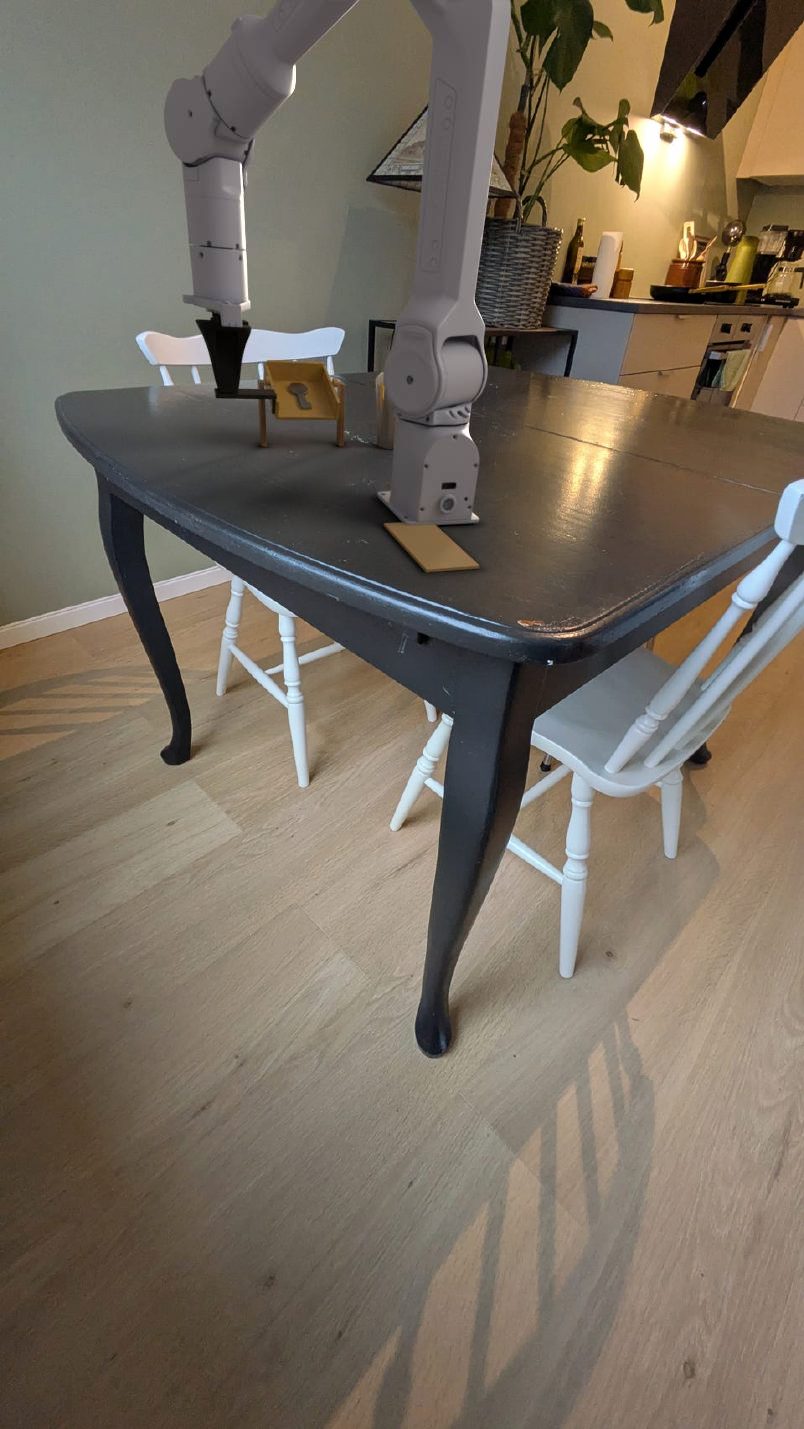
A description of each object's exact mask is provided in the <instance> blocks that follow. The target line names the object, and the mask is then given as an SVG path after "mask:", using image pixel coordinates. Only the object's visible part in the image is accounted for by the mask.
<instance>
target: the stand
mask: <svg viewBox="0 0 804 1429" xmlns="http://www.w3.org/2000/svg"><path fill="white" fill-rule="evenodd" d="M336 388H337V389H336V393H337V395H338V398H339V400H340V410H339V417H338V420H336V435H335V436H336V438H335V439H336V441H335V442H336V443H335V444H336V445H338V447H345V444H344V442H345V410H346V408H345V405H346V404H345V403H346V384H345V383H344V382H343V381H338V387H336ZM257 389H266V388H265V384H264V381H263V379H257ZM257 402H258V422H259V441H260V442H259V443H260V445H261V447H263V448H267V447H268V435H267V434H268V431H267V413H266V412H267V410H266V408H267V407H266V399H257Z"/></svg>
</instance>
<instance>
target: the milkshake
mask: <svg viewBox="0 0 804 1429" xmlns="http://www.w3.org/2000/svg"><path fill="white" fill-rule="evenodd" d="M375 398H376V399H375V400H376V445H377V447H379V448H381V449H387V450H393V448H394V433H395V419H396V417H394V416H393V415H394V408H393V406H392V405H391V403H390V402H389V400H388V398H387V396H386V393H385V389H384V384H383V371H381V372H380V373H379V374H378V375H377V376H376V377H375Z"/></svg>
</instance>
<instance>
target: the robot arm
mask: <svg viewBox="0 0 804 1429" xmlns="http://www.w3.org/2000/svg"><path fill="white" fill-rule="evenodd" d="M359 1H360V0H275V2H274V4H273V5H272V6H271V8H270V10H269V11H268V13H267V14H266V16H265V17H262V16H260V15H258V14H252V13H251V14H246V15H244V16H243V17H241V16H237V17H236V19H235V20H234V21H233V23H232V24H231V25H230V31H231V34H230V35H229V36H228V38H227V39H226V40H225V42H224V43H223V45H222V46H221V47H220V48H219V50H218V52H217V53H216V54H215V56H214V57H213V58H212V60H211V61H210V62H209V63H207V64H206V66H204V68H202V72H201V75H197V74H196V75H194V76H193V77H192V78H191V79H189V78H185V77H178V78H176V79H174V80H173V81H172V83H171V86H170V88H169V90H168V93H167V94H166V98H165V102H164V108H163V123H164V130H165V131H164V132H165V135H166V139H167V142H168V145H169V147H170V148H171V151H172V152H173V154H174V155H175V156H176V158H177V159H178V160H179V161H181V169H182V180H183V192H184V204H185V214H186V224H187V235H188V244H189V246H188V247H189V255H190V256H189V257H190V267H191V279H192V289H193V290H192V291H193V294H182V302H183V303H184V304H189V305H194V306H196V307H199V308H203V309H205V311H206V313H211V317H209V318H210V319H200V318H198V319H195V320H194V321H195V323H196V326H197V328H198V330H199V331H200V333H201V336H202V338H203V341H204V344H205V346H206V350H207V353H208V356H209V360H210V364H211V368H212V372H213V376H214V380H215V384H216V388H218V390H219V392H220V393H238V389H240V382H241V376H242V375H241V374H242V364H243V359H244V354H245V349H246V346H247V343H248V340H249V338H250V336H251V333H252V330H253V328H252V326H251V325H250V324H249V321H248V320H246V319H243V313H244V312H246V311H250V310H251V306H252V305H251V300H250V299H249V284H248V264H247V250H246V249H247V248H246V246H247V244H246V226H245V225H246V223H245V205H244V204H245V203H244V195H245V193H246V188H248V168H249V165H250V163H251V161H252V158H253V154H254V149H255V137H256V135H257V134H258V133H259V132H260V131H261V129H263V127H264V126H265V125H266V124H267V123H268V122H269V121H270V119H271V118H272V117H273V116H274V115H275V114H276V112H277V111H279V109H280V108H281V107H282V105H283V104H284V103H285V102H286V101H287V100H288V98H289V97H291V95H292V94H293V92H294V90H295V88H296V64H297V63H298V62H299V61H300V60H301V59H302V58H303V57H304V56H305V55H307V53H308V52H309V51H310V50H311V49H312V48H313V47H314V46H315V45H316V44H318V42H319V41H320V40H321V39H322V38H323V37H324V36H325V35H326V34H328V32H329V31H330V30H332V28H333V27H334V26H335V25H336V24H337V23H338V22H339V21H340V20H341V19H342V18H343V17H344V16H345V15H346V14H347V13H348V12H349V11H350V10H351V9H352V8H353V7H354V6H355V5H356V4H357V3H358V2H359ZM408 1H409V3H410V4H411V6H412V7H413V9H414V10H415V12H416V13H417V15H418V17H419V19H420V20H421V21H422V23H423V25H424V26H425V28H426V29H427V31H428V32H429V33H430V35H431V39H432V52H431V53H432V54H431V64H430V65H431V66H430V78H429V89H428V104H427V115H426V125H425V126H426V127H425V138H424V139H425V140H424V151H423V152H424V153H423V163H422V164H423V165H422V177H421V188H420V189H421V190H420V200H419V201H420V202H419V213H418V214H419V216H418V225H417V237H416V239H417V240H416V250H415V263H414V276H413V289H412V294H411V296H410V298H409V301H408V302H407V303H406V305H405V307H404V308H403V309H402V311H401V313H400V314H399V316H398V318H397V320H396V322H395V328H394V338H393V343H392V345H391V349H390V350H389V353H388V354H387V357H386V359H385V362H384V366H383V371H382V372H383V384H384V389H385V393H386V396H387V398H388V400H389V402H390V403H391V405H392V406H393V408H394V415H393V416H394V417H396V419H395V433H394V448H393V449H392V463H391V464H392V465H391V478H390V490H389V491H388V490H387V491H386V490H385V491H377V493H376V497H377V498H378V499H379V500H380V501H381V502H382V503H383V504H384V505H385V506H386V507H387V509H389V510H390V511H391V512H392V513H393V514H394V516H396V517H397V519H399V521H401V522H403V523H404V524H406V525H409V526H413V525H433V524H435V525H436V526H445V525H464V524H465V525H466V524H477V523H478V524H479V522H480V518H479V516H477V515H476V514H475V513H474V512H473V509H474V504H475V503H474V502H475V495H476V490H477V483H478V475H479V469H480V453H479V450H478V447H477V445H476V443H475V442H474V440H473V439H472V437H471V436H470V431H469V429H470V419H471V412H472V404H473V403H474V402H476V401H478V399H479V397H480V396H481V395H482V393H483V392H484V389H485V387H486V384H487V381H488V380H487V379H488V370H489V369H488V362H487V358H486V353H485V347H484V342H485V341H484V340H485V333H486V332H485V331H486V324H485V322H484V320H483V317H482V315H481V314H480V311H479V309H478V307H477V305H476V302H475V296H476V290H477V282H478V275H479V274H478V273H479V265H480V259H481V253H482V252H481V251H482V244H483V237H484V230H485V228H484V227H485V221H486V212H487V205H488V197H489V190H490V182H491V175H492V168H493V160H494V150H495V143H496V136H497V135H496V134H497V129H498V128H497V127H498V120H499V114H500V113H499V112H500V105H501V98H502V91H503V82H504V75H505V67H506V59H507V50H508V43H509V35H510V29H511V28H510V27H511V21H512V19H511V18H512V17H511V15H512V4H511V0H408Z"/></svg>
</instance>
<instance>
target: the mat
mask: <svg viewBox="0 0 804 1429" xmlns="http://www.w3.org/2000/svg"><path fill="white" fill-rule="evenodd" d="M383 527H384V528H385V529H386V530H387V532H389V534H390V535H391V536H392V537H393V538H394V539H395V540H396V541H397V542H398V543H399V545H400V546H401V547H402V548H403V549H404V551H406V552H407V553H408V555H409V556H410V557H411V558H412V559H413V560H414V561H415V562H416V563H417V564H418V565H419V566H420V568H421V569H422V570H423V571H424V572H425V573H437V572H440V573H441V572H451V571H452V572H453V571H463V570H464V571H465V570H476V569H477V570H479V569H480V564H479V563H478V562H476V561H475V560H474V559H473V558H472V557H471V556H469V554H468V553H467V552H465V551H464V550H463V548H461V547H460V546H459V545H458V544H457V543H456V542H455V541H454V540H452V539H451V538H450V537H449V535H448V534H446V533H445V532H443V531H442V529H441V528H439V527H438V525H435V524H433V525H413V526H409V525H406V524H404V523H403V522H402V521H401V522H384V523H383Z"/></svg>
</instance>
